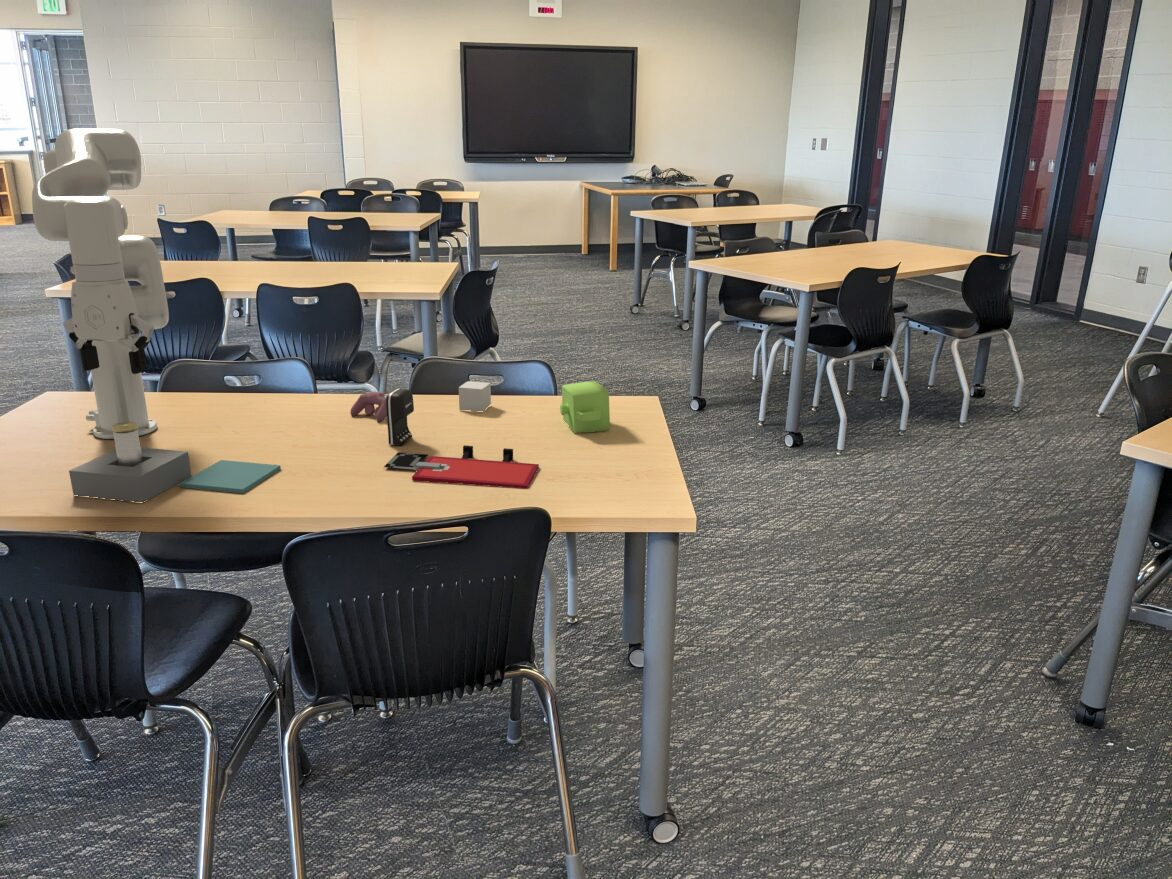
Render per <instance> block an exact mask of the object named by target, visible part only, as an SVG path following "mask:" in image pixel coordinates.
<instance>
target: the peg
mask: <svg viewBox="0 0 1172 879" xmlns="http://www.w3.org/2000/svg"><path fill="white" fill-rule="evenodd" d="M112 429H113V434H114V439H113V440H114V445H115V446H114V447H115V449H116V452H117V458H118V464H119V466H128V467H134V466H136V465H138V464H140V463H142V462H143V460H142V454H141V447H142V446H141V442H140V436H139V435H138V428H137V423H136V422H120V423H116V424H114V425H112Z"/></svg>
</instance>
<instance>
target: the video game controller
mask: <svg viewBox="0 0 1172 879" xmlns="http://www.w3.org/2000/svg"><path fill="white" fill-rule="evenodd" d="M386 397H387V395H386V394H384V393H383V392H379V391H363V393H362V394H360V395H359V397H358V398H357V400H356V401H355V402H354V403H353V405H352V407H351V408H350V413H349V414H350V416H352V417H357V416H358V415H359V414H361V412H362V411H364V414H366V415H369V416H372V415H374V416H375V421H376V422H378V423H381V422H383V421H384V420H385V419H387V412H386ZM375 405H376V406H377V407H376V406H375Z"/></svg>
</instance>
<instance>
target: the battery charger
mask: <svg viewBox="0 0 1172 879" xmlns="http://www.w3.org/2000/svg"><path fill="white" fill-rule="evenodd" d="M386 396H387V397H386V412H387V417H386V423H387V435H388V445H390V446H402V445H405V444H407V442H409V441H410V440H412V439H413V434H412V433H411V431H410V428H409V425H408V416H409V415H411V414H412V413H413V412H414V411H415V406H414V397H413V392H412V391H411V390H410V389H406V388H405V389H404V388H395V389H393V390H392V391H390V392H389V393H387V395H386Z"/></svg>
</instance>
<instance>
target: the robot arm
mask: <svg viewBox="0 0 1172 879" xmlns="http://www.w3.org/2000/svg"><path fill="white" fill-rule="evenodd" d="M43 169H44V172H45V174H44V175H42V176H41V177H39V178H38V179H37V181H36V182H35V183H34V185H33V188H32V192H31V206H32V207H31V208H32V217H33V222H34V226H35V229H36V230H37V232H38V233H39V235H40V236H41V237H42V238H43V239H45V240H48V241H52V242H69V243H68V244H69V249H70V255H71V261H72V265H71V266H70V270H69V272H70V273H71V274H73V275H74V278H75V281H73V282H72V283H71V289H70V292H71V293H70V294H71V295H70V305H71V306H70V307H71V317H70V318H69V319H67V320H65V321H63V323H62V325H63V327H64V330H65V331H66V332H67V334H68V338H70V340H72V342H74V343H75V347H76V348H77V349H79V351H80V352H79V353H80V356H81V361H82V367H83V371H84V372H89V371H90V373H91V380H92V385H93V391H94V397H95V398H94V399H95V403H96V408H97V409H90V410H89V412H88V414H86V416H85V420H86V421H88V422H95V426H94V428H92V433H93V435H94V437H96V438H99V439H105V440H114V434H113V429H112V425H114V424H116V423H120V422H136V423H137V428H138V435H139V437H140V436H141V437H142V436H144V435H148V434H149V433H153V432H154V431H156V430H157V428H158V423H157V421H156V420H154V419H153V418H152V419H151V418H149V414H148V409H147V408H148V407H147V402H146V401H147V400H146V394H145V388H144V382H143V376H142V373H144V372H146V371H147V369H148V368H147V360H146V353H145V352H146V351H145V350H146V349H147V348H148V345H149V344H150V342H151V341H152V337H153V333H154V330H159V329H162V328H164V327H166V326H167V325H168V323H169V320H170V319H169V318H170V315H169V314H170V313H169V305H168V304H169V303H168V298H167V292H166V288H165V281H164V276H163V269H162V263H161V258H160V255H159V251H158V249H157V246H156V244H155V242H154V241H153V240H152V238H150V237H147V236H145V235H136V234H135V235H124V234H125V232H126V230H127V229H128V227H129V221H128V214H127V210H126V208H125V207H124V205H122V203H121V202H120V201H119V200H118V199H116V198H114V197H112V196H105V195H106V194H107V192H108V191H122V190H123V191H129V190H134V189H137V188H138V187H139V186H140V183H141V182H142V156H141V151H140V148H139V145H138V142H137V141H136V138H134V136H133V135H132V134H131V133H129V132H128V131H126V130H123V129H121V128H120V129H118V128H82V127H81V128H69V129H66V130H63V131H62V132H61V133H60V134H59V135H58V136H57V137H56V139H55V143H54V148H53V149H50V150H48V151H47V152H46V153H45V154H44V156H43ZM132 281H133V282H135V281H136V282H138V283H139V284H140V285H130V283H129V282H132ZM140 334H141V335H140Z"/></svg>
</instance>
